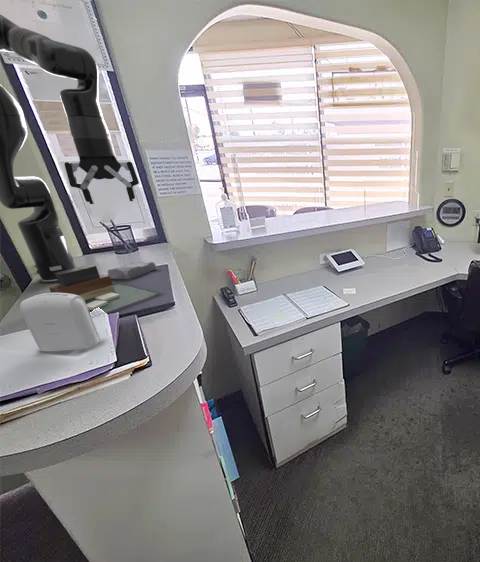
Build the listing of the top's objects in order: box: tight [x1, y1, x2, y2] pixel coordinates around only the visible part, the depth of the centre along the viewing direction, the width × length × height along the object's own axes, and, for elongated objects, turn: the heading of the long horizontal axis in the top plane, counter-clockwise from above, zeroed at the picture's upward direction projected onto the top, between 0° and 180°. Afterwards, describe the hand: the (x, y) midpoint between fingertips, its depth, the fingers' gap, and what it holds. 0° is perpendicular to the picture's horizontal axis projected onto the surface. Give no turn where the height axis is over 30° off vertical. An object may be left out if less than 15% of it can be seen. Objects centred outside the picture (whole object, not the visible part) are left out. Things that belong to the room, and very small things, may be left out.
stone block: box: [107, 260, 157, 280], centre depth 109 cm, size 12×5×10 cm
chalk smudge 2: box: [95, 292, 120, 301], centre depth 88 cm, size 4×4×1 cm
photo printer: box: [19, 292, 101, 352], centre depth 63 cm, size 10×4×12 cm, turn 96°
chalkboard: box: [85, 283, 159, 314], centre depth 87 cm, size 20×20×1 cm
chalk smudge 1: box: [86, 300, 108, 310], centre depth 83 cm, size 4×4×1 cm
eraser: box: [48, 264, 115, 301], centre depth 88 cm, size 5×12×8 cm, turn 155°
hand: (112, 202), depth 85 cm, fingers open, 8 cm apart
